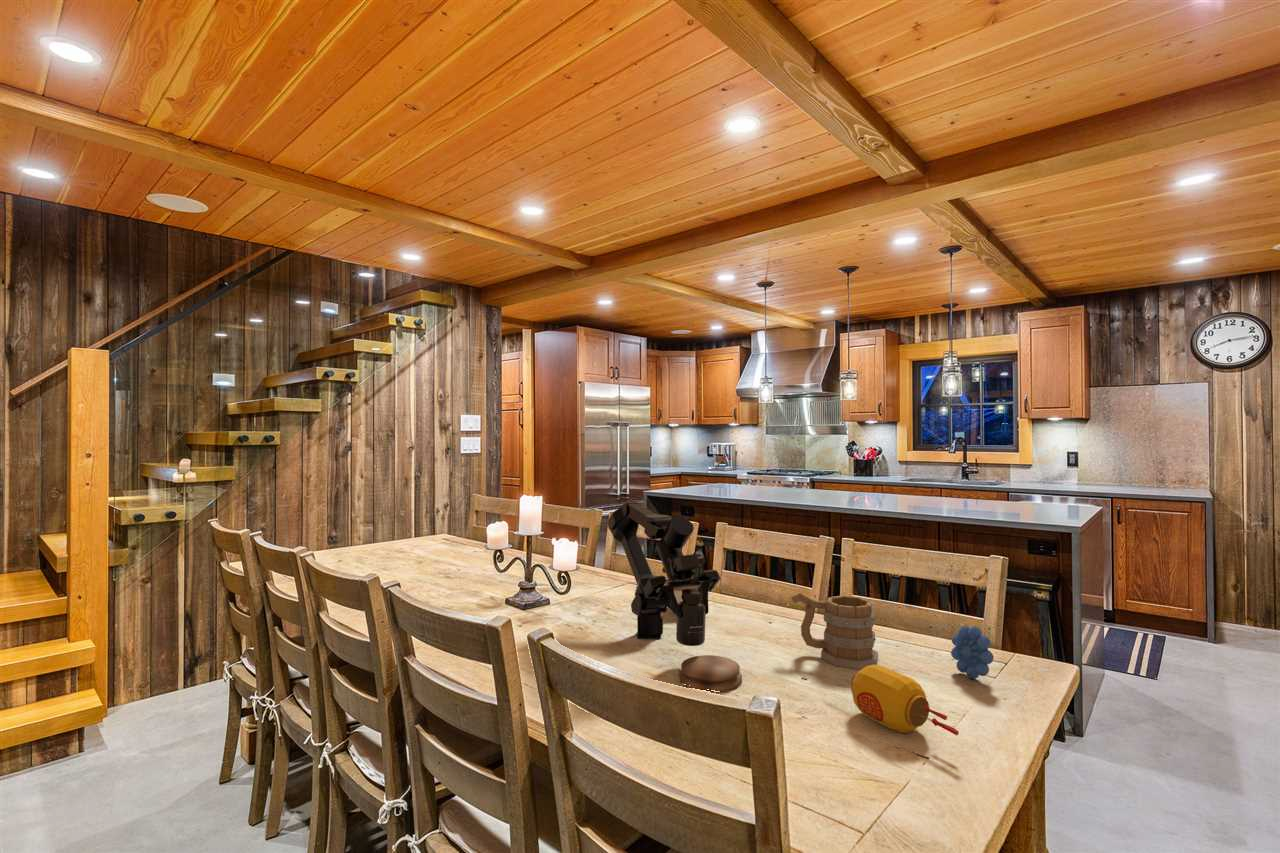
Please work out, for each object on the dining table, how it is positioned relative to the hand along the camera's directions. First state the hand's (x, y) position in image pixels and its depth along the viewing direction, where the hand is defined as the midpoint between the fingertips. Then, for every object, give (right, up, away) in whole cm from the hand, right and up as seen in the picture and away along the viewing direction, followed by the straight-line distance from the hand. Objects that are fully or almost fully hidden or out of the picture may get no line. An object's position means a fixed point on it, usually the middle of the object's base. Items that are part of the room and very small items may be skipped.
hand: (694, 615), depth 144 cm
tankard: (+35, -12, +6) cm, 37 cm away
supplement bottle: (-1, -7, +1) cm, 7 cm away
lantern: (+34, -12, -28) cm, 46 cm away
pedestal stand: (+3, -12, -7) cm, 14 cm away
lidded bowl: (0, -13, +45) cm, 47 cm away
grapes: (+62, -12, -8) cm, 64 cm away
